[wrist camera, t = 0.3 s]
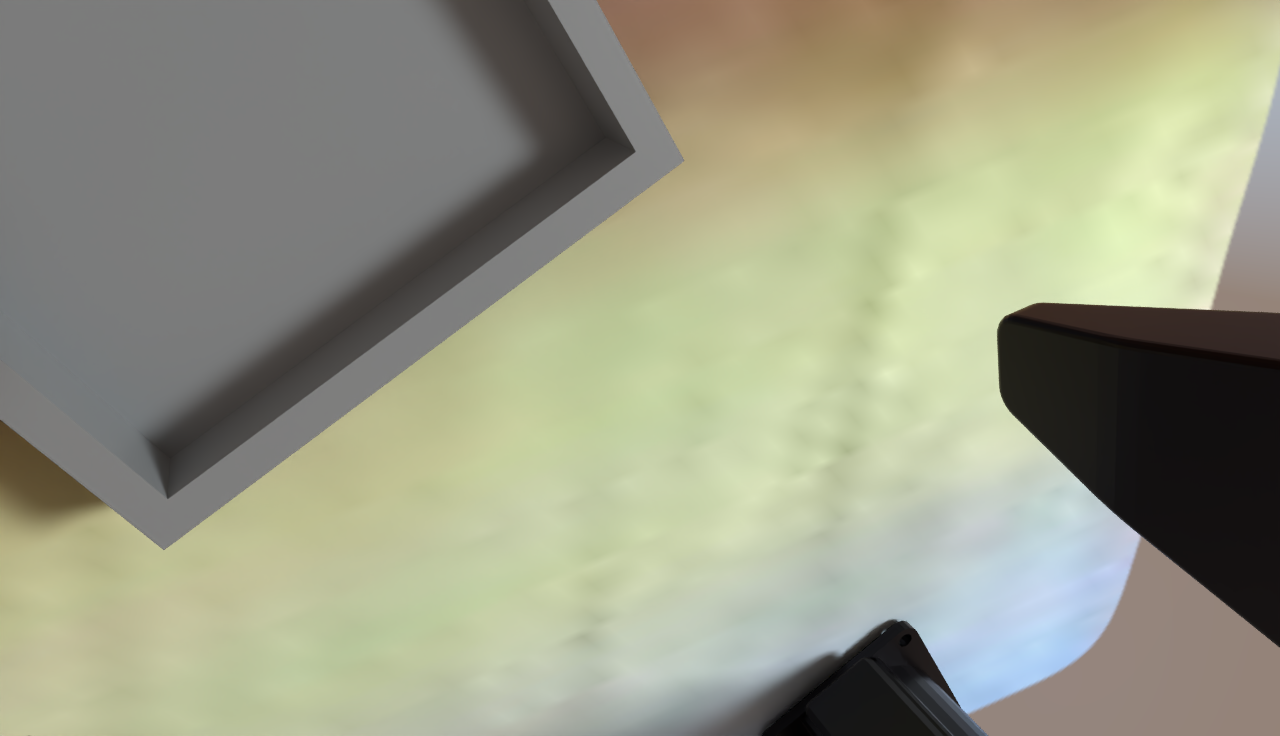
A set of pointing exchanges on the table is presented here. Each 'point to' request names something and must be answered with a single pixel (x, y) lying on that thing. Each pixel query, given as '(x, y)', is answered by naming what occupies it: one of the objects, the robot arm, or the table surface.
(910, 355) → the table surface
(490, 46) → the tray
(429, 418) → the table surface
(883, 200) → the table surface
